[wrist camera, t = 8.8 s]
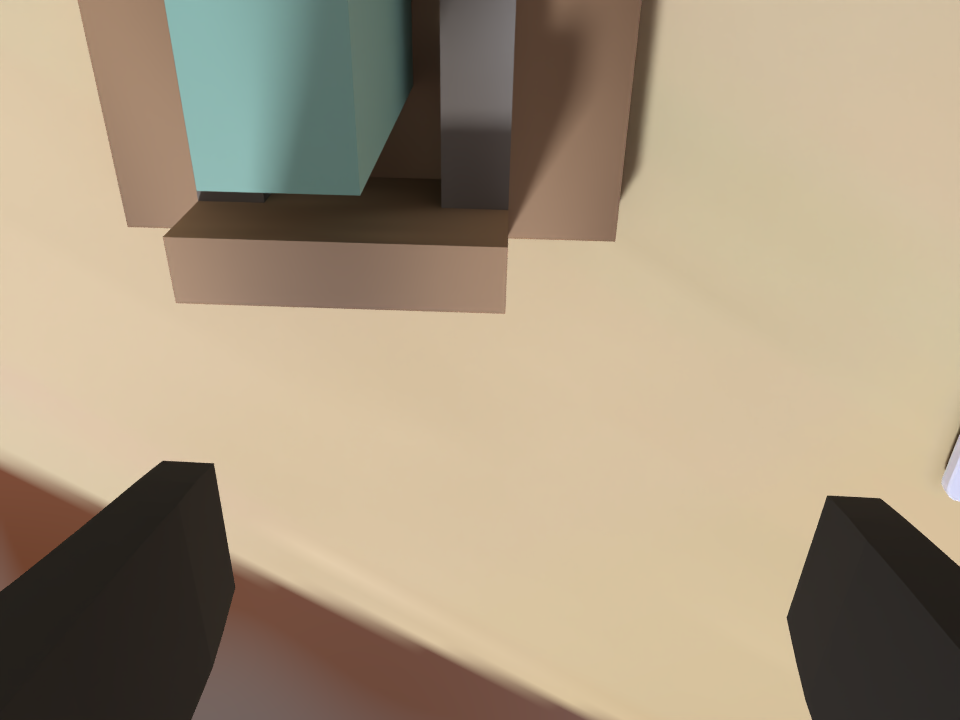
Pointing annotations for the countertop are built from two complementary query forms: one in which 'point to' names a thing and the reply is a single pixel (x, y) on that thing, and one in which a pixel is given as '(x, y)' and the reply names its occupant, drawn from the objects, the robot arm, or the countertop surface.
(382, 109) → the door panel
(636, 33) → the track base
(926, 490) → the countertop surface
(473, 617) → the countertop surface
